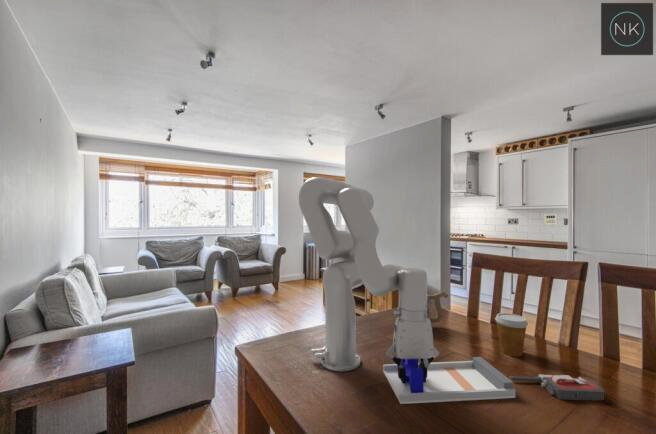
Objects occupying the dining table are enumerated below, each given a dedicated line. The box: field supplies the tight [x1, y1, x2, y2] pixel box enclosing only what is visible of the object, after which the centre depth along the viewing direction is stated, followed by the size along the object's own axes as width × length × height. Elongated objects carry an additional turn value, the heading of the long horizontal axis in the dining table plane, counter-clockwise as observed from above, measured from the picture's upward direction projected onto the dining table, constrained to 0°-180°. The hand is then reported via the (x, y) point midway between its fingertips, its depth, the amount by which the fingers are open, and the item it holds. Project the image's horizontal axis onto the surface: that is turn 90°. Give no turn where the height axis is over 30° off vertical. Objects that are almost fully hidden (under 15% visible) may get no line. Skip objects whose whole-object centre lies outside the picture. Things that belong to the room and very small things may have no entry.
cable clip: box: [404, 359, 423, 393], centre depth 81 cm, size 12×4×6 cm, turn 170°
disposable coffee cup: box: [494, 312, 529, 357], centre depth 101 cm, size 10×10×12 cm
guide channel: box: [382, 356, 516, 405], centre depth 81 cm, size 30×16×4 cm, turn 95°
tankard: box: [427, 291, 449, 330], centre depth 124 cm, size 20×13×15 cm, turn 88°
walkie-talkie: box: [510, 373, 605, 402], centre depth 78 cm, size 9×4×20 cm
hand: (412, 379), depth 81 cm, fingers closed on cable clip, 5 cm apart
